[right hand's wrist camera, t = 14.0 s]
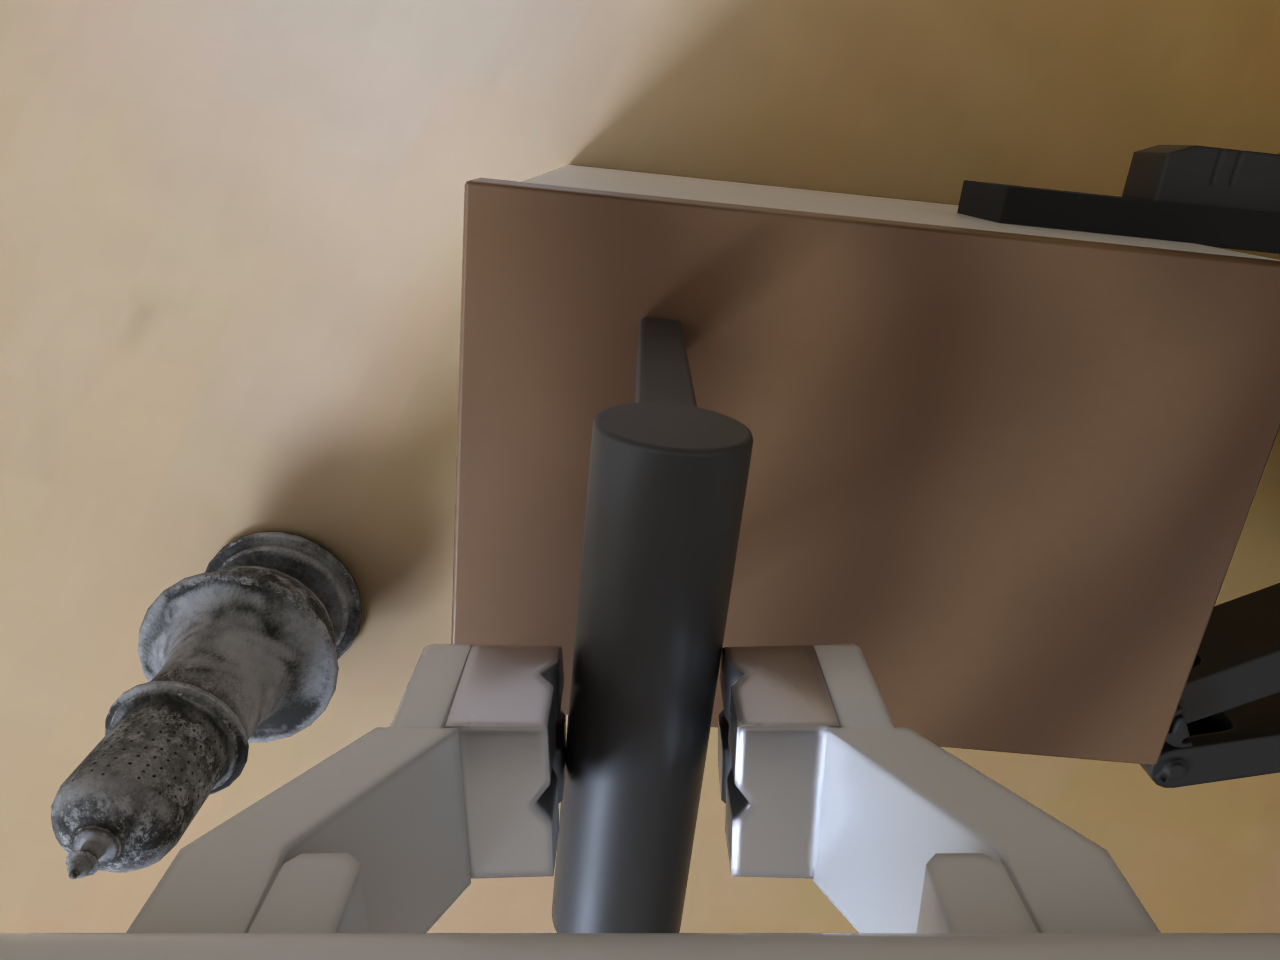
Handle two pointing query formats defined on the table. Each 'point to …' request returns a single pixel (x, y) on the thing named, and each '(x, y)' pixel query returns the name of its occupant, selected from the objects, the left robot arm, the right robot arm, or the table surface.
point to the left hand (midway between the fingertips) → (929, 433)
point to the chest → (825, 204)
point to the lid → (839, 483)
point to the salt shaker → (208, 696)
